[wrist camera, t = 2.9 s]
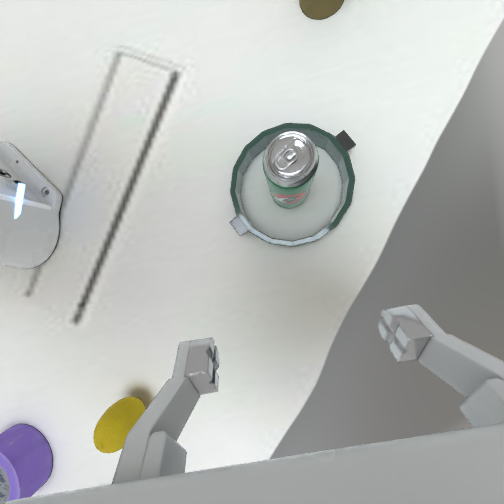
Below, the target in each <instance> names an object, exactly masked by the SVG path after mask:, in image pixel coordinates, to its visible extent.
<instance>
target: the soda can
mask: <svg viewBox="0 0 504 504" xmlns="http://www.w3.org/2000/svg"><path fill="white" fill-rule="evenodd" d="M318 162H319V156H318V151H317V148H316V146H315V144H314V143H313V142H312V141H311V139H310V138H309V137H308V136H306V135H305V134H303V133H301V132H298V131H287V132H284V133H281V134H279V135H278V136H276V137H275V138H274V139H273V140H272V141H271V143H270V144H269V145H268V147H267V148H266V150H265V153H264V156H263V169H264V173H265V176H266V179H267V182H268V185H269V188H270V191H271V194H272V197H273V199H274V201H275V202H276V203H277V204H278V205H280V206H281V207H284V208H294V207H297V206H299V205H300V204H302V203H303V202H304V200H305V199H306V197H307V195H308V192H309V189H310V187H311V184H312V181H313V178H314V176H315V173H316V170H317V167H318Z"/></svg>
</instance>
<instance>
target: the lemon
mask: <svg viewBox="0 0 504 504" xmlns="http://www.w3.org/2000/svg"><path fill="white" fill-rule="evenodd" d="M144 412H145V406H144V404H143V402H142V401H141V400H140V399H138V398H136V397H126V398H123V399H121V400H119V401H117V402H116V403H114V404H113V405H112V406H111V407H109V408H108V409H107V411H106V412H105V413H104V414H103V416H102V417H101V418H100V420H99V421H98V423H97V425H96V428H95V430H94V444H95V446H96V448H97V449H98V450H99V451H101V452H103V453H113V452H116V451H118V450H120V449H122V448H123V446H124V443H125V439H126V436H127V434H128V433H129V432H130V430H131V429H132V428H133V426H134V425H135V424H136V422H137V421H138V420H139V418H140V417H141V416H142V414H143V413H144Z"/></svg>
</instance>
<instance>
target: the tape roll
mask: <svg viewBox="0 0 504 504" xmlns="http://www.w3.org/2000/svg"><path fill="white" fill-rule="evenodd" d="M51 470H52V454H51V450H50V447H49V444H48V442H47V440H46V439H45V437H44V436H43V435H42V434H41V433H40V432H39V431H38V430H37V429H35V428H34V427H32V426H29V425H25V424H19V425H15V426H12V427H11V428H9V429H8V430H6V431H5V432H3V433H1V434H0V504H4V503H6V502H9V501H11V500H16V499H21V498H28V497H31V496H32V495H33V494H34V493H35V492H36V491H37V490H38V489H39V488H40V487H41V486H42V485H44V484H45V482H46V481H47V480H48V478H49V476H50V473H51Z"/></svg>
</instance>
